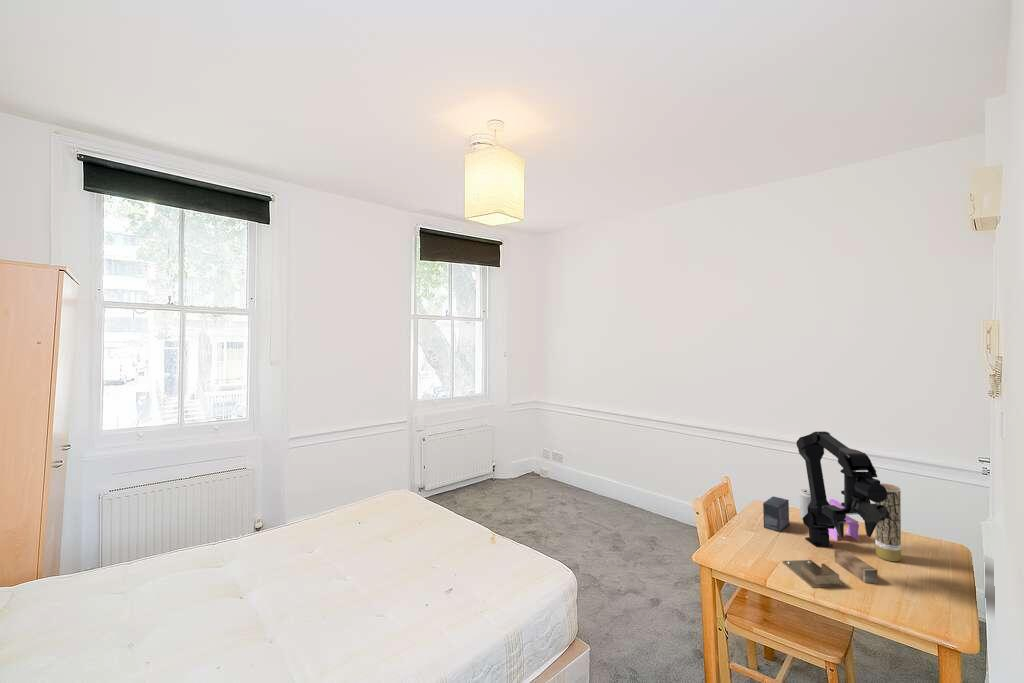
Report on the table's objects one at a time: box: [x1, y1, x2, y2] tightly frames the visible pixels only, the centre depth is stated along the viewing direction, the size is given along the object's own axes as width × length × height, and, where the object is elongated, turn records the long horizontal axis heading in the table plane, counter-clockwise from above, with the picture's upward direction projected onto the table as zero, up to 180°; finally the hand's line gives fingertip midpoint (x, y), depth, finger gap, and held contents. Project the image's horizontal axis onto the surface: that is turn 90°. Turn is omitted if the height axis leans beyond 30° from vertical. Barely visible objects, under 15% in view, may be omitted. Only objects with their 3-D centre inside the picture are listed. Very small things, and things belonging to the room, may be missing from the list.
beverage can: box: [799, 488, 811, 520], centre depth 188 cm, size 6×6×12 cm
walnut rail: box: [834, 549, 879, 584], centre depth 148 cm, size 13×4×4 cm, turn 1°
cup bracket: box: [781, 559, 845, 589], centre depth 147 cm, size 15×10×4 cm, turn 1°
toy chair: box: [828, 497, 860, 542], centre depth 172 cm, size 8×9×15 cm
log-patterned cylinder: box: [874, 483, 902, 563], centre depth 156 cm, size 7×7×25 cm
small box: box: [762, 496, 790, 533], centre depth 183 cm, size 11×6×10 cm, turn 130°
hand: (855, 536), depth 148 cm, fingers open, 9 cm apart
